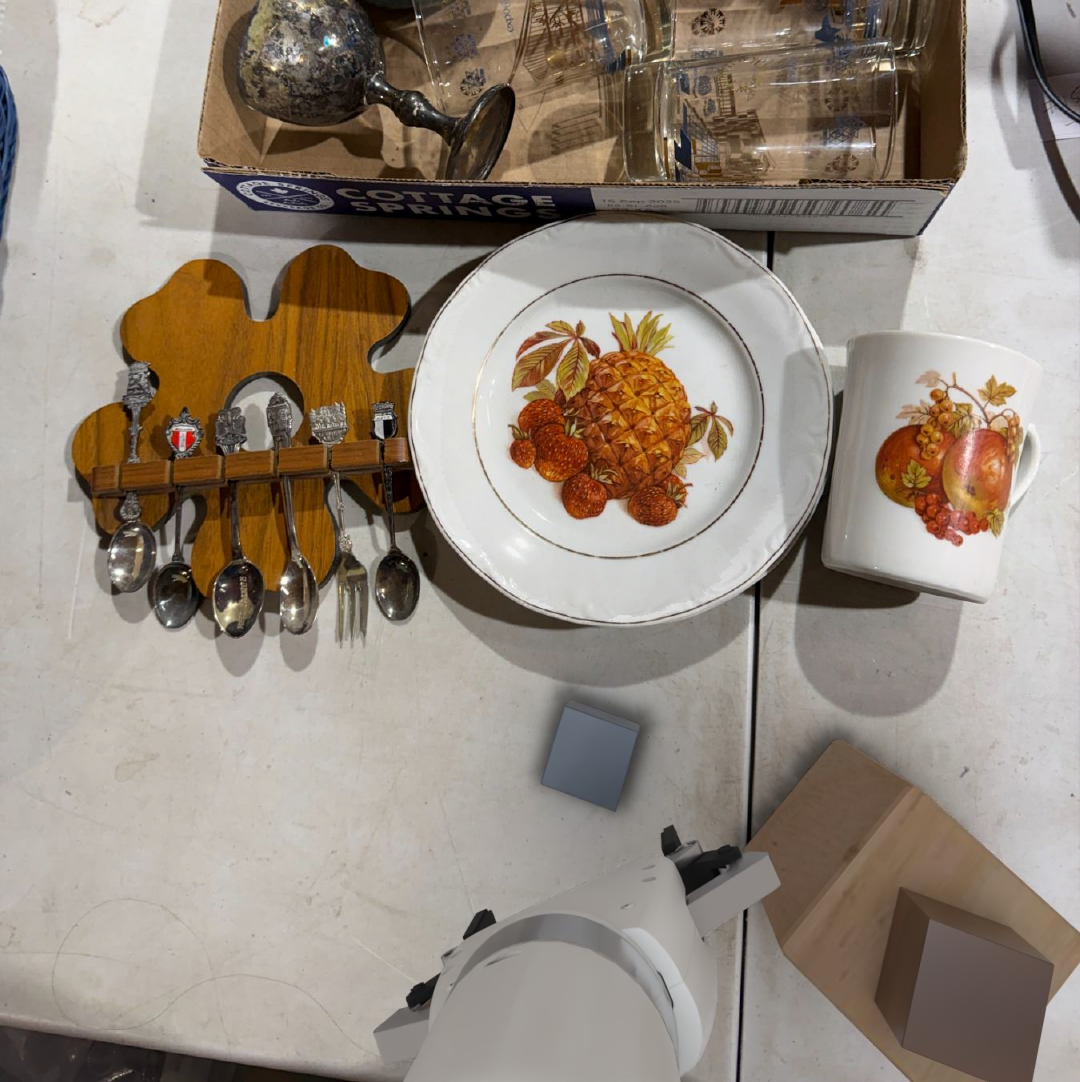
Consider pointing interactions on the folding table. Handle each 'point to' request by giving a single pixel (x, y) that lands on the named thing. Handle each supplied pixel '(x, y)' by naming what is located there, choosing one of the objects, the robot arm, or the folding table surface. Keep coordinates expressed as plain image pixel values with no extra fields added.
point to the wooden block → (884, 887)
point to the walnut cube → (963, 990)
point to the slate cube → (590, 755)
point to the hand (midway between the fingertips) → (588, 901)
